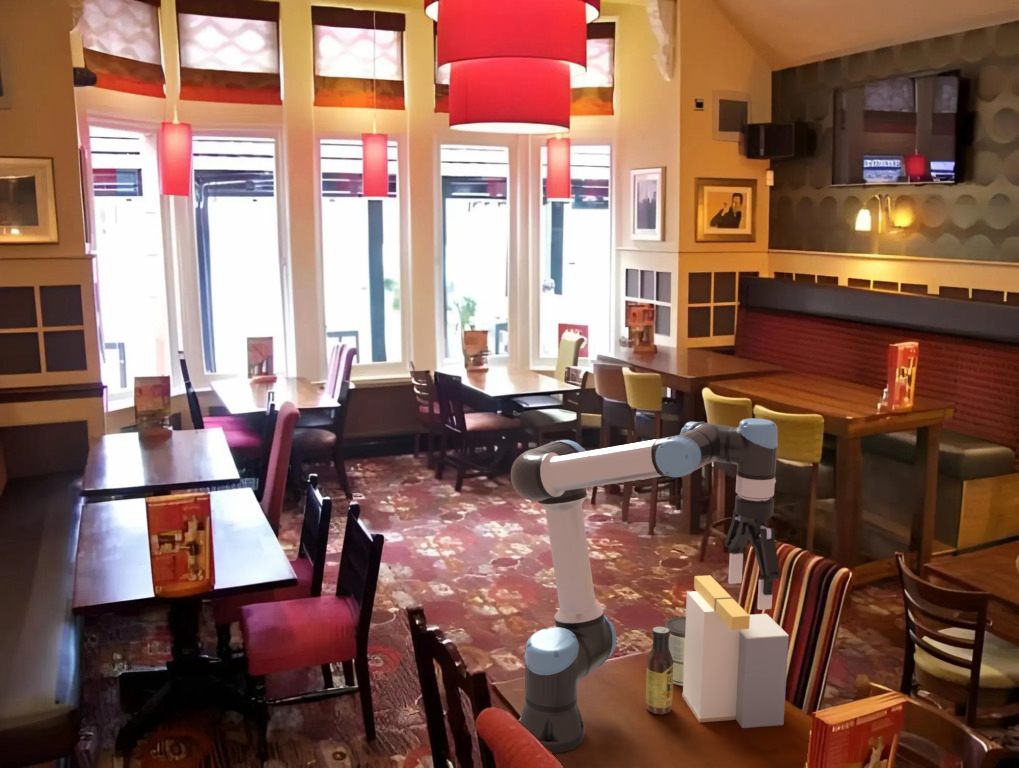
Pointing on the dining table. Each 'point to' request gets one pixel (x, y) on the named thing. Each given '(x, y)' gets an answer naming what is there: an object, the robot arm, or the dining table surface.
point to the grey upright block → (761, 673)
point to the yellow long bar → (722, 602)
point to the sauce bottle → (659, 673)
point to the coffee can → (677, 647)
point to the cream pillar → (709, 662)
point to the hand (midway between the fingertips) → (749, 595)
